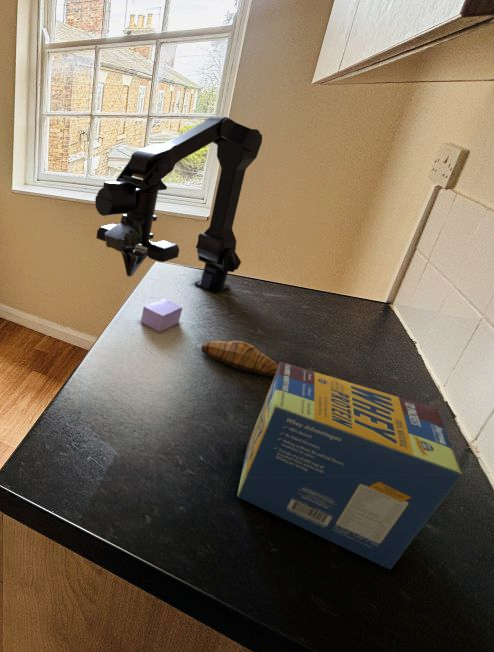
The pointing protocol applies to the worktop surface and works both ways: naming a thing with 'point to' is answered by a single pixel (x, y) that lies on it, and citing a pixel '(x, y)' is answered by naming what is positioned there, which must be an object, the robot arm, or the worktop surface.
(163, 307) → the block
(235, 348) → the croissant
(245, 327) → the worktop surface
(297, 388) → the protein box
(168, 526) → the worktop surface
